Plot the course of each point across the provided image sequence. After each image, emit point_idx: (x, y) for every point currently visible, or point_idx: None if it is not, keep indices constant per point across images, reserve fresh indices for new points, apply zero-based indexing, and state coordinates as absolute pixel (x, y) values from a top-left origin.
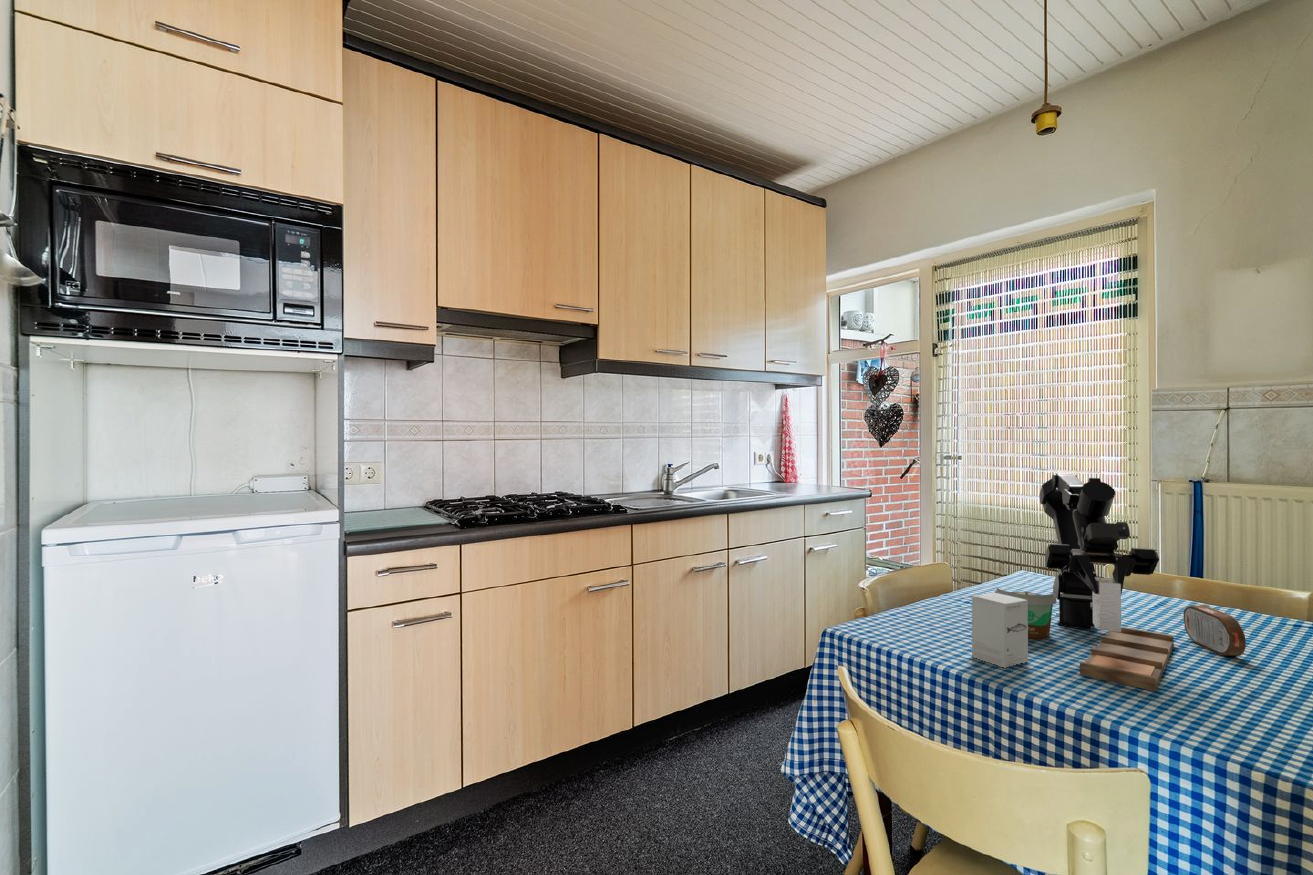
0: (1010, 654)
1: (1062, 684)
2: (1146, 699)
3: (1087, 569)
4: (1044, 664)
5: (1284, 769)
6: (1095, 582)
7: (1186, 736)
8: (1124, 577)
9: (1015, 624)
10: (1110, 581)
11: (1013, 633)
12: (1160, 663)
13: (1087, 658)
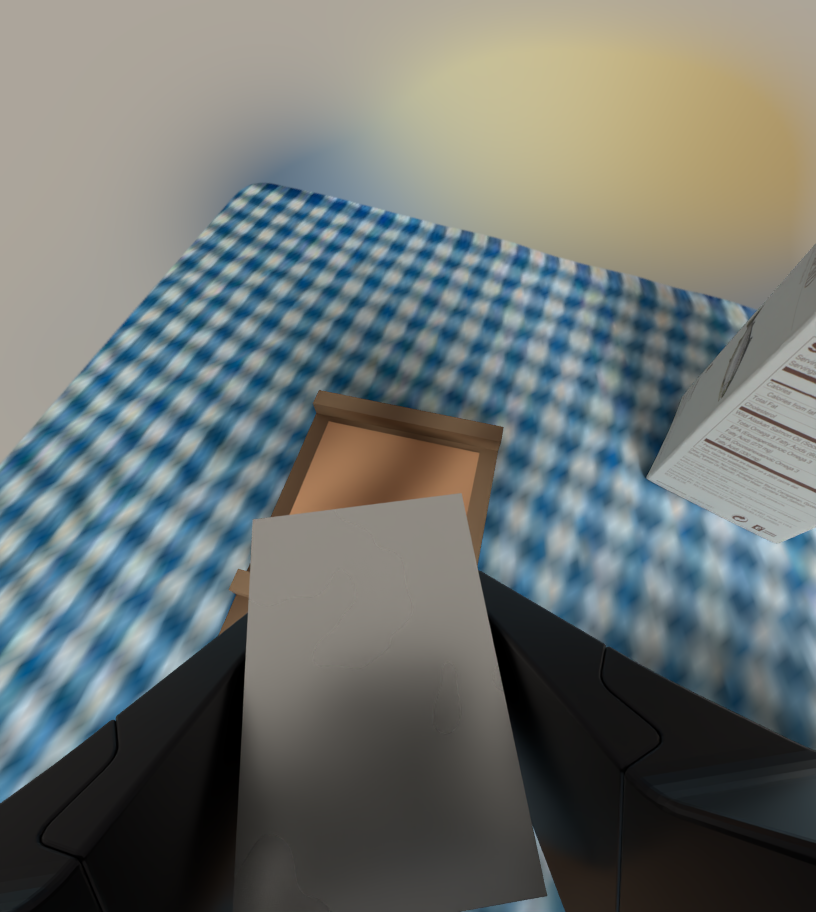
0: (695, 388)
1: (532, 358)
2: (361, 353)
3: (667, 710)
4: (598, 493)
5: (248, 199)
6: (494, 608)
7: (340, 234)
8: (101, 729)
9: (754, 328)
10: (332, 614)
11: (734, 348)
12: (244, 571)
13: (478, 558)
